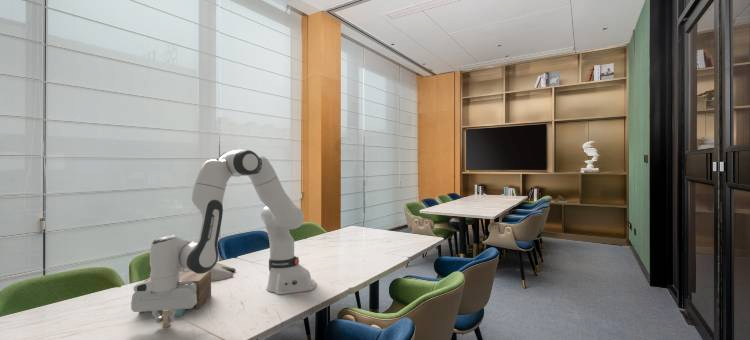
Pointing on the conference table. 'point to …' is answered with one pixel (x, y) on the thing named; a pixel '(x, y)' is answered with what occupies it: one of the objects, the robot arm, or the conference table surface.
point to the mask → (217, 272)
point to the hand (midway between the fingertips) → (165, 321)
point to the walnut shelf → (198, 285)
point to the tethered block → (167, 313)
